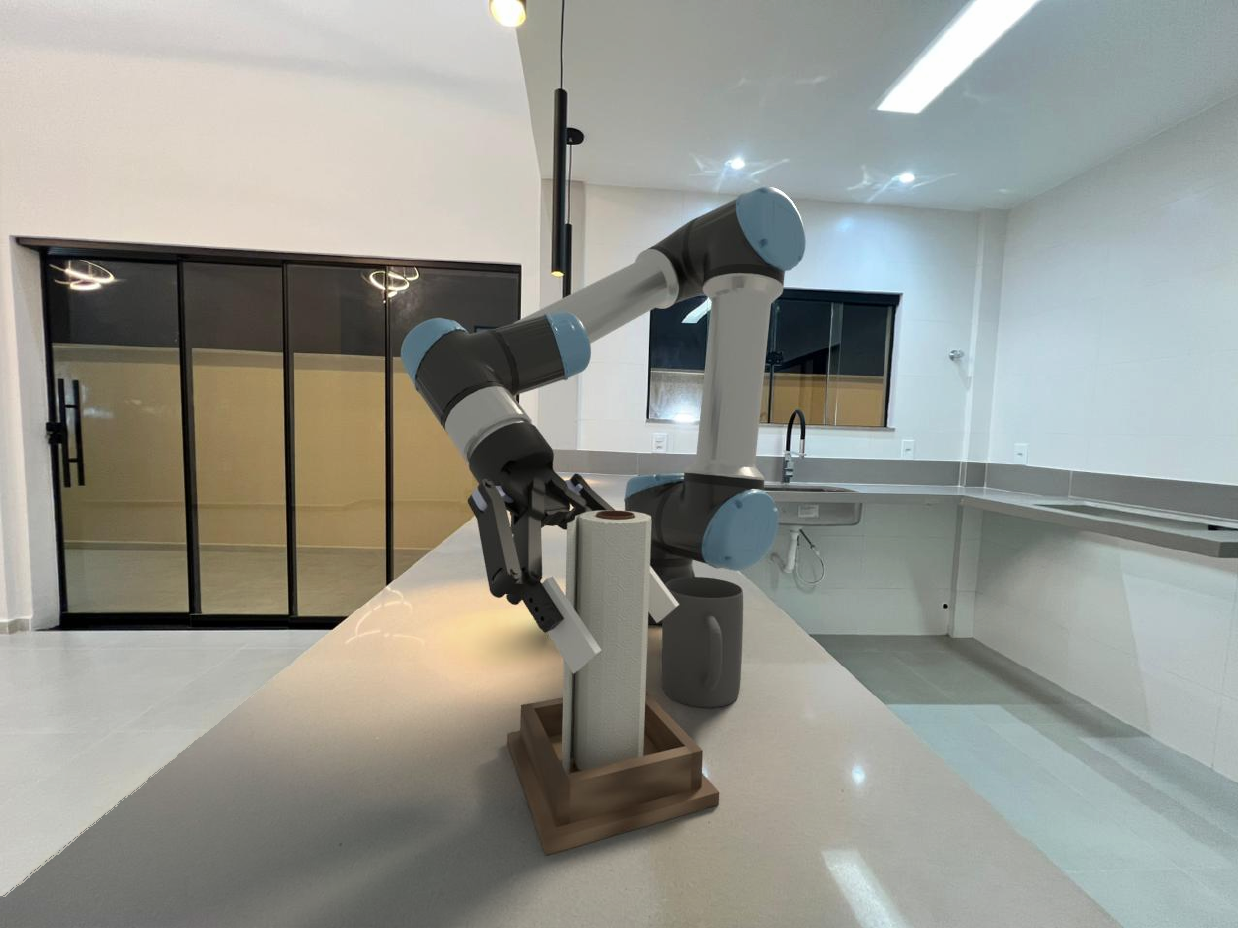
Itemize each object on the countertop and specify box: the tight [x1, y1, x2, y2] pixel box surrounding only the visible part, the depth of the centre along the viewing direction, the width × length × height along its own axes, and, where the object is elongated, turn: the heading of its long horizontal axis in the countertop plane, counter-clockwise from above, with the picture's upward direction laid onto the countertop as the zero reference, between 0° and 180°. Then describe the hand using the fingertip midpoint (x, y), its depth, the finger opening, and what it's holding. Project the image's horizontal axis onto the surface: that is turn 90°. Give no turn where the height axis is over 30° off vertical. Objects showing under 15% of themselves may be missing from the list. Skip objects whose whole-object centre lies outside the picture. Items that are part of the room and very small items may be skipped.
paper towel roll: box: [562, 509, 651, 774], centre depth 43 cm, size 7×6×21 cm
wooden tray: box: [506, 690, 720, 856], centre depth 44 cm, size 14×14×4 cm
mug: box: [660, 576, 744, 709], centre depth 57 cm, size 14×9×12 cm
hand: (633, 635), depth 43 cm, fingers open, 12 cm apart
